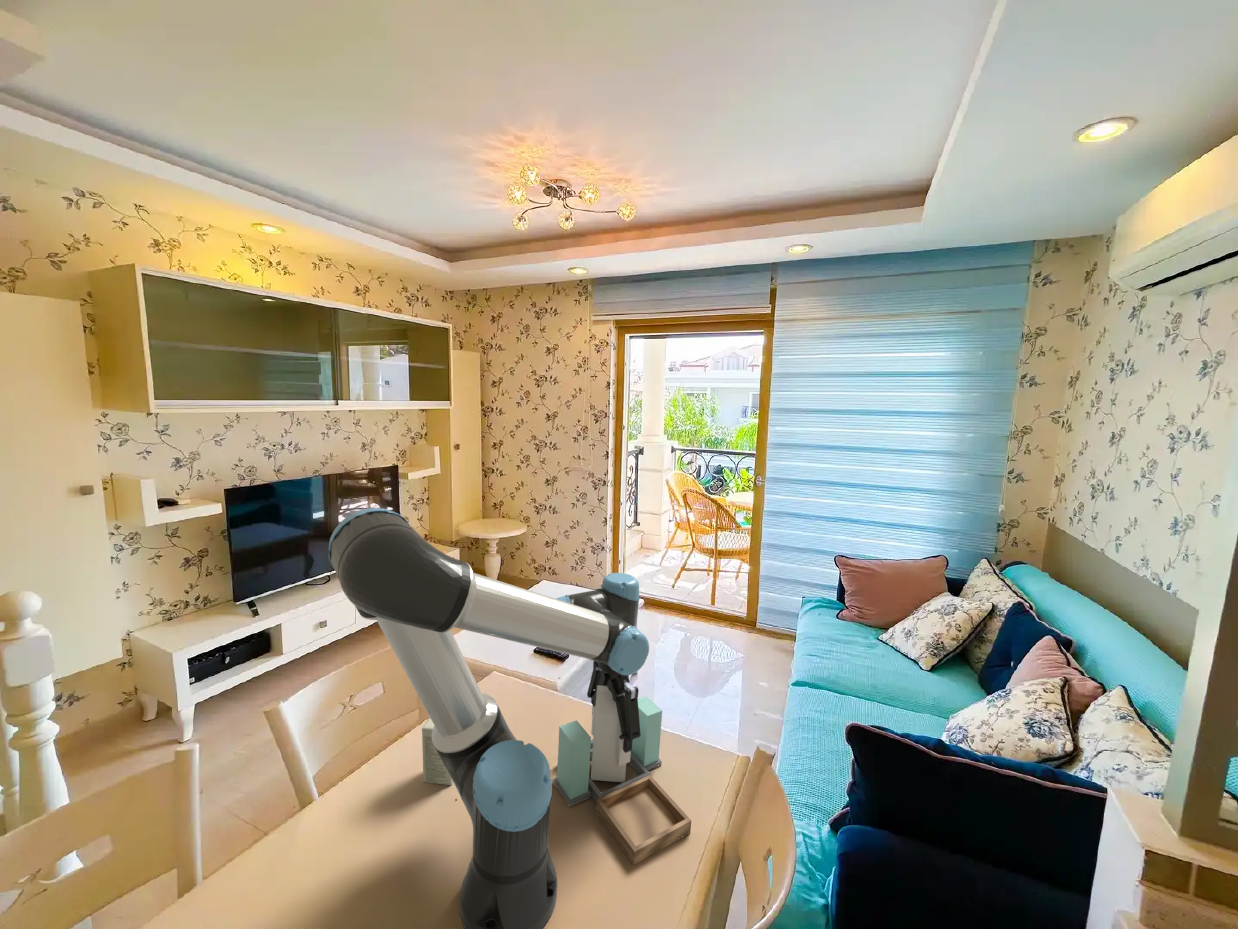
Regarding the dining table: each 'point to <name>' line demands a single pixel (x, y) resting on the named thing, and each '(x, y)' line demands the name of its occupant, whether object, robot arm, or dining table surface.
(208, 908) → the dining table surface
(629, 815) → the tray
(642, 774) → the holder
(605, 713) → the milk carton
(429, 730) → the skincare box
